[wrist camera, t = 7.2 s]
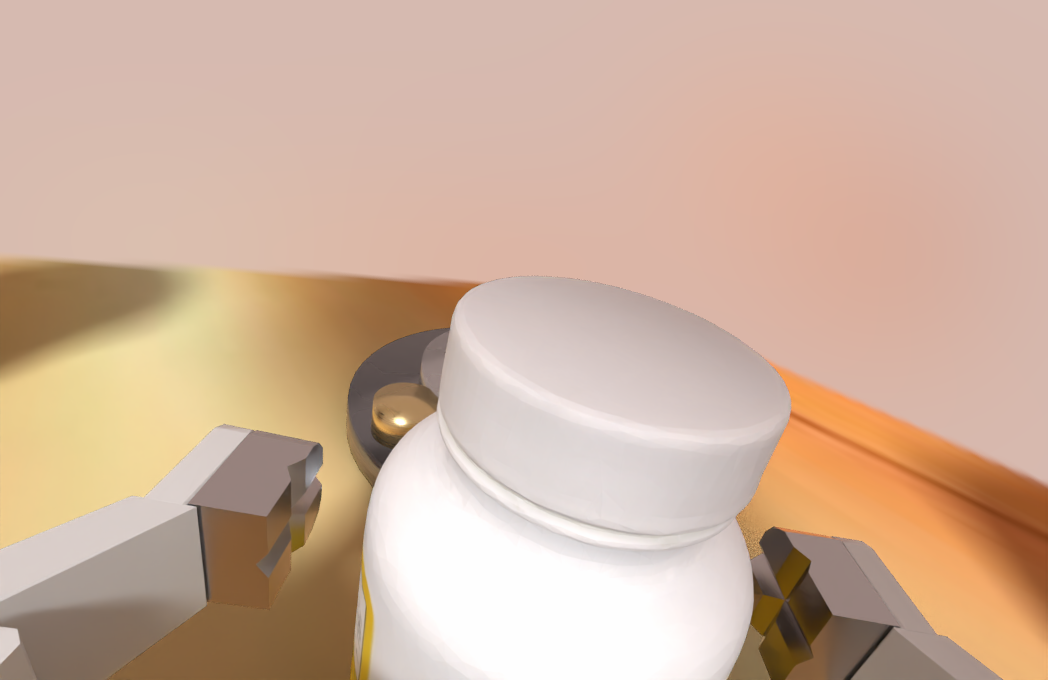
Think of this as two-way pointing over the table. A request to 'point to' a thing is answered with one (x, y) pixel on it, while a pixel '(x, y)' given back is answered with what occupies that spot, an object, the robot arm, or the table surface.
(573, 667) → the supplement bottle
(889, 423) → the table surface
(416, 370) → the stand
